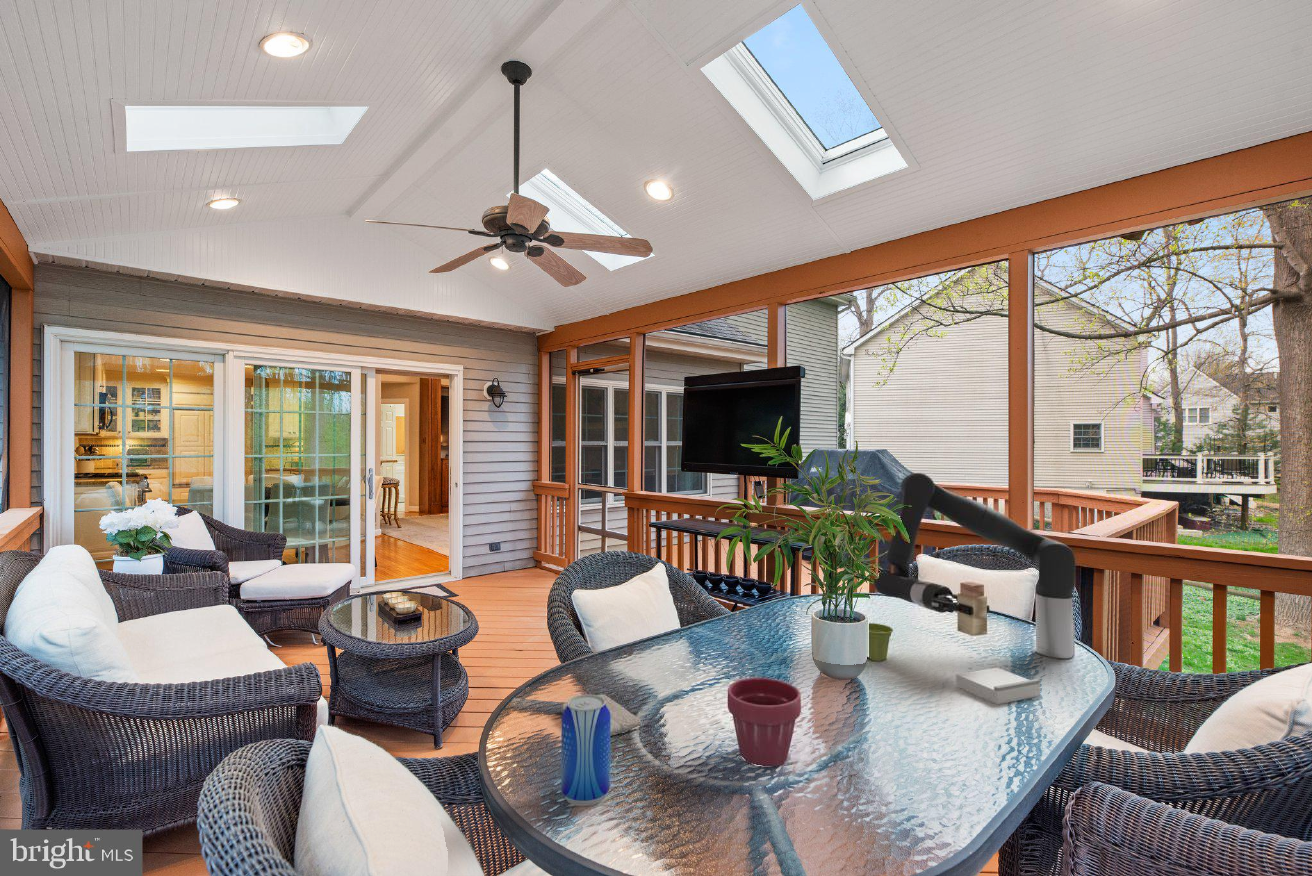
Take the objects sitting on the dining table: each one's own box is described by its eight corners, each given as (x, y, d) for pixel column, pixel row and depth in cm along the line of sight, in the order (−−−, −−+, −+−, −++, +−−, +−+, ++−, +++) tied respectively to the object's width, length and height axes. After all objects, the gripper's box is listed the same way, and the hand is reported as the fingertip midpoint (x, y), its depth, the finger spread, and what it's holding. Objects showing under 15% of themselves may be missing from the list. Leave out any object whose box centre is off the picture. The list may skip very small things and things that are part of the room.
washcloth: (602, 702, 149) (602, 689, 149) (644, 730, 134) (644, 716, 134) (556, 714, 142) (556, 701, 142) (595, 745, 127) (596, 730, 127)
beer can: (562, 783, 112) (563, 693, 112) (609, 781, 112) (610, 691, 113) (559, 810, 103) (560, 712, 104) (610, 808, 104) (610, 711, 104)
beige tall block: (971, 629, 171) (971, 581, 171) (987, 634, 166) (987, 584, 166) (957, 630, 169) (957, 582, 169) (972, 636, 164) (972, 586, 164)
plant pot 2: (887, 653, 185) (887, 623, 185) (896, 664, 176) (896, 632, 176) (855, 651, 186) (855, 622, 186) (862, 662, 177) (862, 631, 177)
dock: (996, 679, 164) (996, 664, 164) (1039, 696, 153) (1039, 680, 153) (956, 686, 159) (956, 671, 159) (997, 704, 148) (997, 688, 148)
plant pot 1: (785, 783, 112) (785, 711, 113) (714, 762, 120) (715, 694, 120) (810, 750, 124) (810, 686, 125) (745, 733, 132) (745, 672, 132)
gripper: (911, 584, 178) (959, 598, 162) (950, 581, 183) (1000, 594, 168) (911, 611, 178) (960, 627, 162) (950, 607, 183) (1000, 622, 167)
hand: (980, 610), depth 165 cm, fingers closed on beige tall block, 5 cm apart
